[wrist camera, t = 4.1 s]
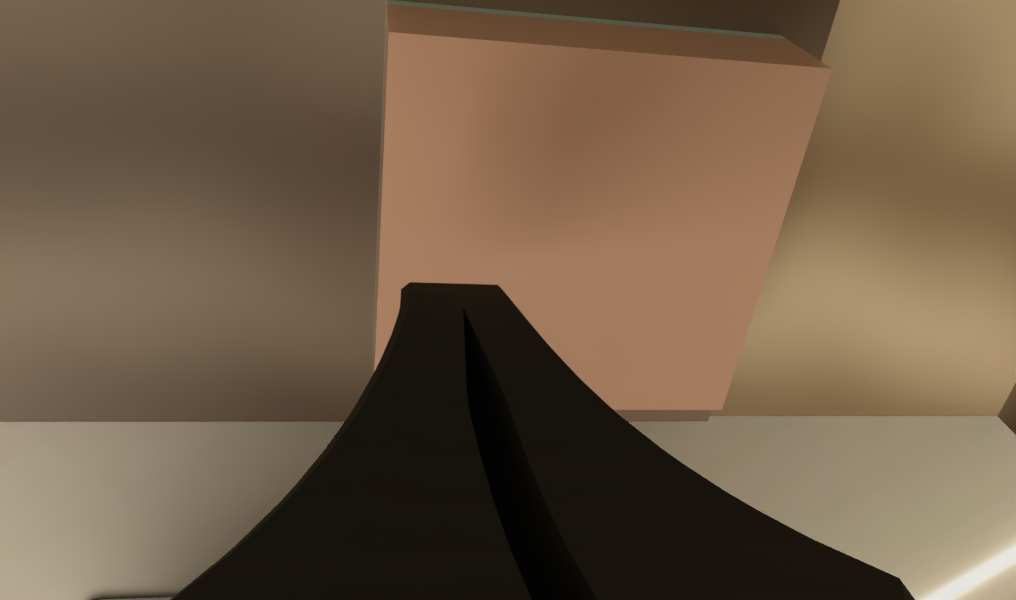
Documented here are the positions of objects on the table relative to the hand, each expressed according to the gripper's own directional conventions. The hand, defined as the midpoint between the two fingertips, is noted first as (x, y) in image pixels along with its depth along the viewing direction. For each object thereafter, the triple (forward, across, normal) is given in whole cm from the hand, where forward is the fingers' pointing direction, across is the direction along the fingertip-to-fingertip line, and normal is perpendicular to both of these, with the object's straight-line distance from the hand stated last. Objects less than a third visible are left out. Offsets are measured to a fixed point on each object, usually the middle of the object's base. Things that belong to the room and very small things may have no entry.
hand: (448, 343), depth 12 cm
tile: (+4, +1, 0) cm, 4 cm away
